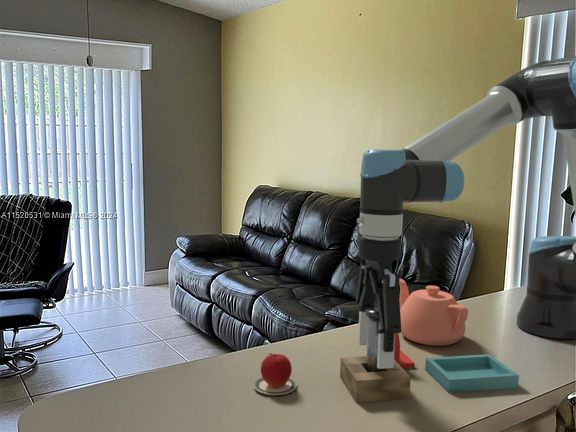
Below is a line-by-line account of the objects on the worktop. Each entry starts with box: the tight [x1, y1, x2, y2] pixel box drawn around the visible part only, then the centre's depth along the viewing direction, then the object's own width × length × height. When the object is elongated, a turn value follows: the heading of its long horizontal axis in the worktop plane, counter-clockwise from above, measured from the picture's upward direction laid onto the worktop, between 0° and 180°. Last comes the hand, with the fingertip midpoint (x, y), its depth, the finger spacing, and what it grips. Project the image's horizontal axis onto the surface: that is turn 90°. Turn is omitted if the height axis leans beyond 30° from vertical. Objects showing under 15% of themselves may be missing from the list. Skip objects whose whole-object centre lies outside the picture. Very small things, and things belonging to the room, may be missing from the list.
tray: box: [424, 354, 520, 394], centre depth 104 cm, size 14×10×2 cm
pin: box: [366, 306, 382, 372], centre depth 99 cm, size 4×4×15 cm
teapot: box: [399, 277, 469, 347], centre depth 126 cm, size 22×15×12 cm
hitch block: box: [339, 355, 412, 403], centre depth 100 cm, size 10×10×4 cm
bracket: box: [394, 333, 416, 370], centre depth 114 cm, size 12×4×8 cm, turn 13°
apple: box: [253, 352, 298, 396], centre depth 99 cm, size 8×8×6 cm
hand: (374, 355), depth 99 cm, fingers open, 10 cm apart
